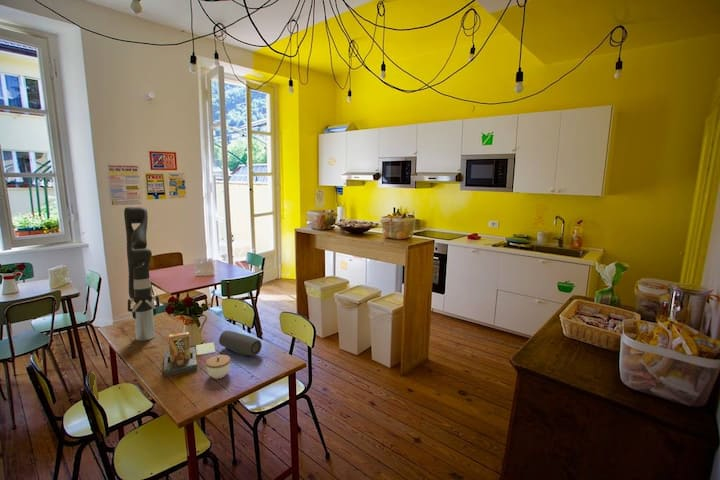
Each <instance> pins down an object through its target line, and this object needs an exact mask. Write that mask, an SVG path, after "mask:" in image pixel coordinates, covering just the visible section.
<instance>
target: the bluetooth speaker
mask: <svg viewBox="0 0 720 480" xmlns="http://www.w3.org/2000/svg"><path fill="white" fill-rule="evenodd" d="M218 344H219V345H220V346H221V347H224V348H226V349H228V350H231V351H232V352H233V353H236V354H239V355H242V356H247V355H248V356H250V357H255V356H257V355H259V353H260V352H261V350H262V346H263V345H262V341H261V340H260V339H258V338H255V337H253V336H250V335H247V334H243V333H241V332H240V333H239V332H238V331H237V332H236V331H233V330H223V331H222V332H221V334H220V336H219V338H218Z"/></svg>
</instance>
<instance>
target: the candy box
mask: <svg viewBox="0 0 720 480" xmlns="http://www.w3.org/2000/svg"><path fill="white" fill-rule="evenodd" d="M168 347H169V351H170V362H176V361H177V360H178V359H184V360H187V359H192V358H190V347H191V344H190V333H189V331H186V332H185V331H184V332H180V333H173V334H171V333H170V334H169V335H168ZM170 362H169V363H170Z"/></svg>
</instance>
